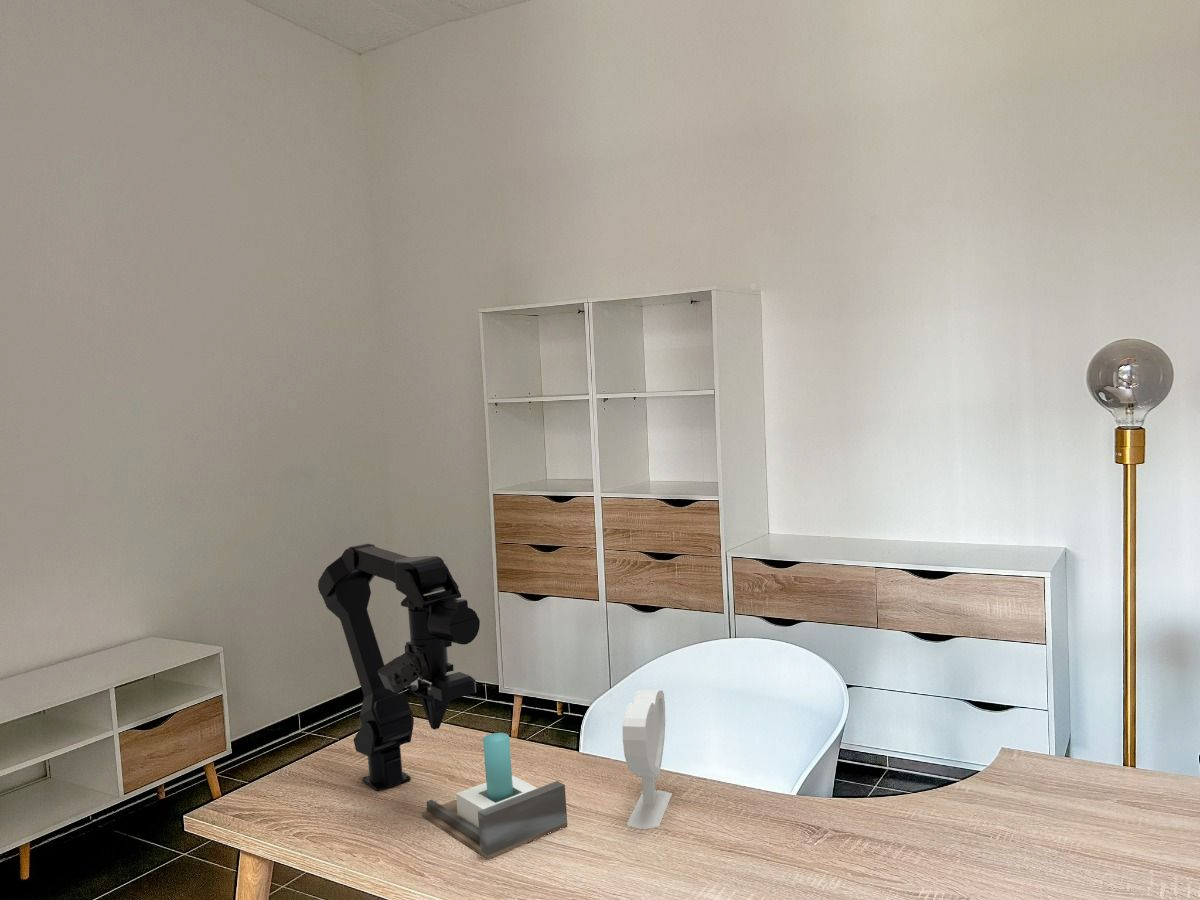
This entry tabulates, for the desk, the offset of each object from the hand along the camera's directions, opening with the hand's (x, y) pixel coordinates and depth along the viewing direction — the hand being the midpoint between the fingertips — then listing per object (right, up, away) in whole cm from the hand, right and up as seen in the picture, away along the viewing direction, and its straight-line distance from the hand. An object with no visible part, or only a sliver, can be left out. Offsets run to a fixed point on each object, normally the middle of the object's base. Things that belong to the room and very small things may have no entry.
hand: (435, 728), depth 157 cm
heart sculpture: (+35, -12, -5) cm, 37 cm away
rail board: (+10, -13, -6) cm, 17 cm away
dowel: (+12, -12, -8) cm, 19 cm away
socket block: (+12, -12, -8) cm, 19 cm away
